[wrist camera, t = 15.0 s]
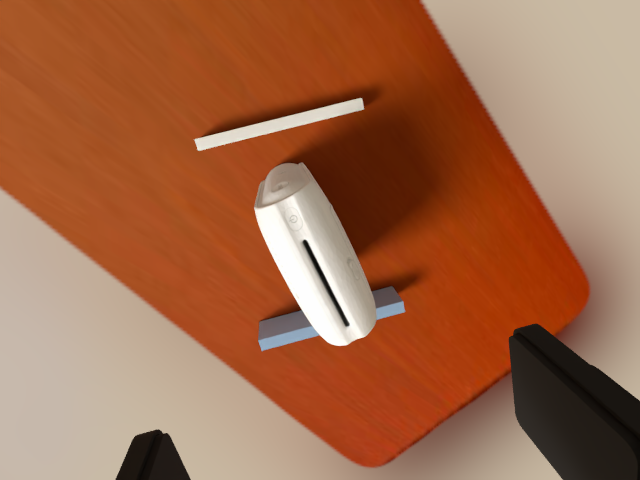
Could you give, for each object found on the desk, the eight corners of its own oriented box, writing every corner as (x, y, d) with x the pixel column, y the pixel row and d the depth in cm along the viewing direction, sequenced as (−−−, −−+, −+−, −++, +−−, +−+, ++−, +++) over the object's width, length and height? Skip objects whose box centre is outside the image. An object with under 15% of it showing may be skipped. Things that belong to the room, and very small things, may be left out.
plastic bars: (199, 137, 29) (191, 140, 26) (356, 98, 29) (365, 97, 26) (262, 331, 34) (261, 350, 31) (394, 296, 35) (404, 311, 32)
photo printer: (252, 175, 30) (239, 214, 18) (302, 151, 30) (321, 174, 18) (309, 284, 33) (328, 375, 22) (354, 262, 33) (398, 342, 22)
